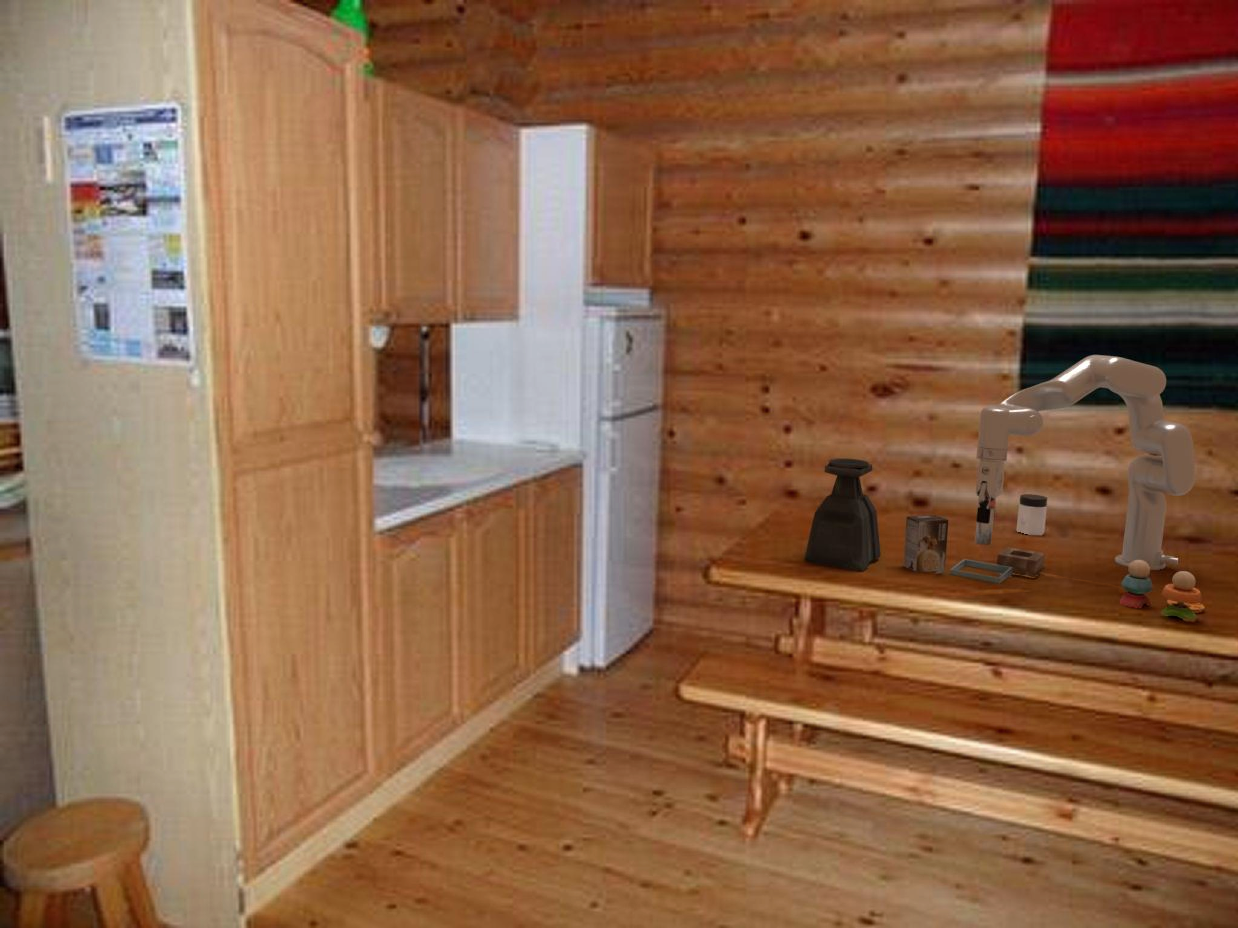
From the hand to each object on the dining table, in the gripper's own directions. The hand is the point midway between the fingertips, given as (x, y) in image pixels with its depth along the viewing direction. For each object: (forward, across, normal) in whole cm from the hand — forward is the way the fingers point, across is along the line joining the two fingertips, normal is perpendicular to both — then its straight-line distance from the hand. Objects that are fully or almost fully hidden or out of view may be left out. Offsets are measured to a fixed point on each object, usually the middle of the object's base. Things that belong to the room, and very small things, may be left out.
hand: (985, 520), depth 253 cm
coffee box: (+16, -8, +13) cm, 22 cm away
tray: (+16, 0, 0) cm, 16 cm away
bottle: (+16, -16, +33) cm, 40 cm away
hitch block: (+16, +13, -7) cm, 22 cm away
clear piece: (+6, 0, 0) cm, 6 cm away
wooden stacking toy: (+16, -1, -43) cm, 46 cm away
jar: (+16, +62, +1) cm, 64 cm away
